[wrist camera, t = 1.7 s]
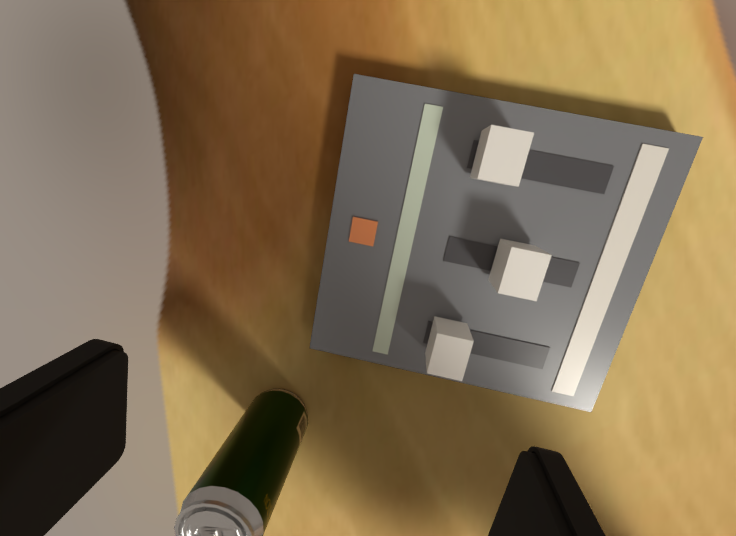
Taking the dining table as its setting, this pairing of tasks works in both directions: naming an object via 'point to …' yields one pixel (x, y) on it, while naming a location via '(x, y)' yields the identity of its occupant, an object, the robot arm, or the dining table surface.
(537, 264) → the handle
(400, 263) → the panel
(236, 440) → the beer can
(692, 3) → the dining table surface
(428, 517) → the dining table surface
